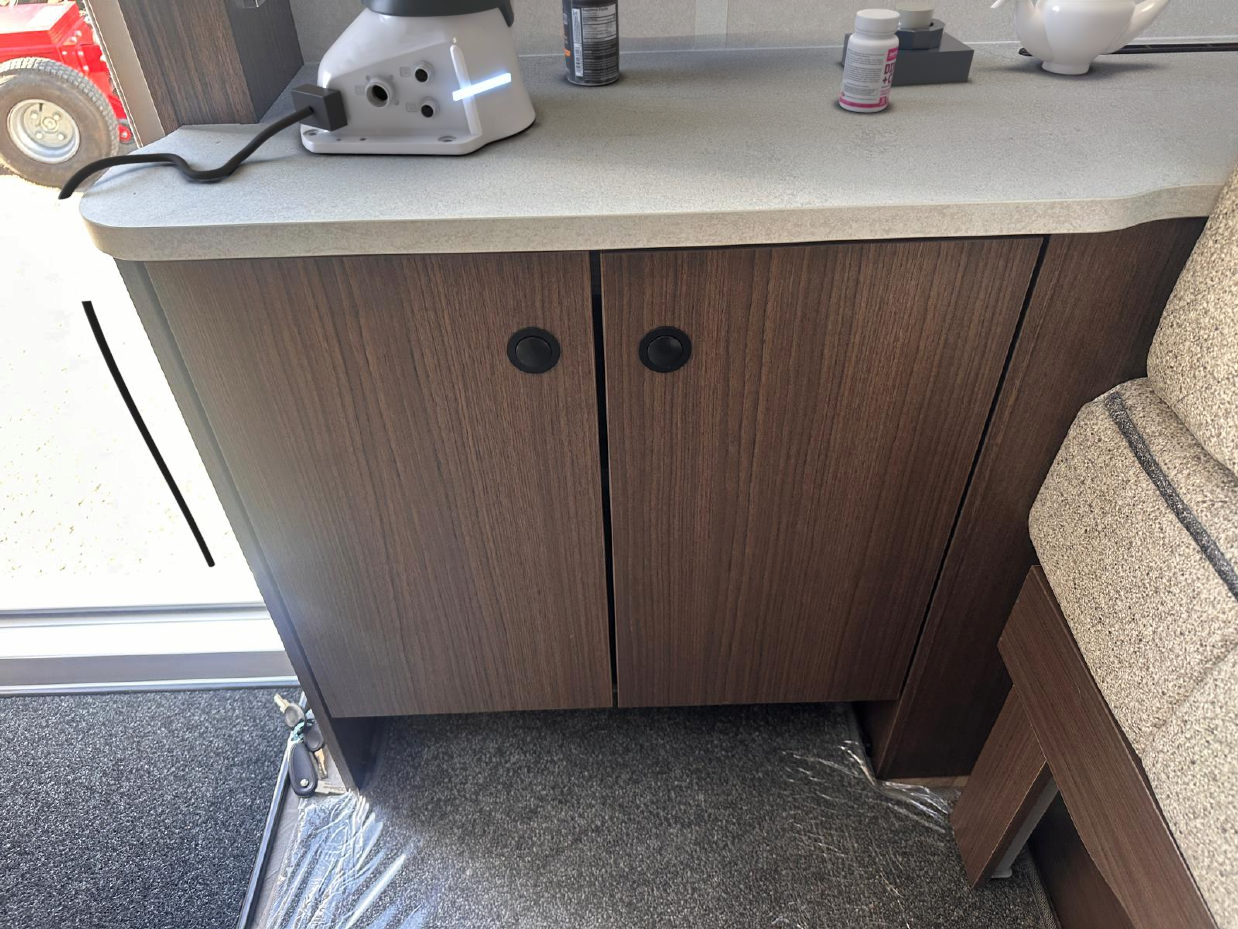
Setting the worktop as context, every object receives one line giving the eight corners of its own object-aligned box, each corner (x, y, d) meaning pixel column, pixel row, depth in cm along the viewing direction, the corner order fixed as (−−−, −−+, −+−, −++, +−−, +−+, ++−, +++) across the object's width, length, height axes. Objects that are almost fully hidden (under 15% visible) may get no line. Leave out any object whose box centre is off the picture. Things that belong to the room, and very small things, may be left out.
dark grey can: (574, 69, 96) (568, -45, 88) (624, 71, 95) (623, -44, 87) (560, 85, 91) (552, -34, 84) (613, 87, 90) (610, -33, 83)
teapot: (960, 58, 96) (982, -35, 90) (1134, 54, 96) (1167, -39, 90) (990, 83, 89) (1015, -16, 83) (1178, 79, 89) (1217, -20, 83)
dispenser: (867, 87, 89) (875, 36, 85) (840, 63, 95) (847, 15, 92) (967, 82, 89) (979, 30, 86) (933, 58, 96) (943, 10, 93)
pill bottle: (887, 114, 82) (905, 19, 76) (838, 112, 83) (852, 18, 77) (886, 99, 85) (903, 7, 80) (838, 97, 86) (852, 6, 81)
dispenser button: (899, 32, 88) (903, 11, 86) (885, 23, 91) (889, 2, 89) (936, 31, 88) (940, 9, 87) (921, 21, 91) (925, 0, 90)
